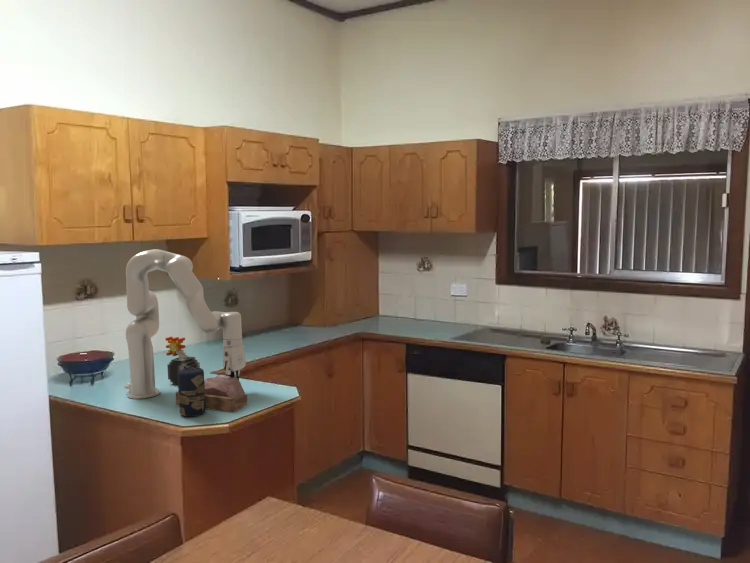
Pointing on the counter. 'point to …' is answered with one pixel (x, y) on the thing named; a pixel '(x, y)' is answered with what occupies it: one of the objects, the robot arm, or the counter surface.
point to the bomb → (178, 359)
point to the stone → (223, 386)
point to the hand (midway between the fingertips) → (234, 385)
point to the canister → (191, 391)
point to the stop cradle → (222, 402)
